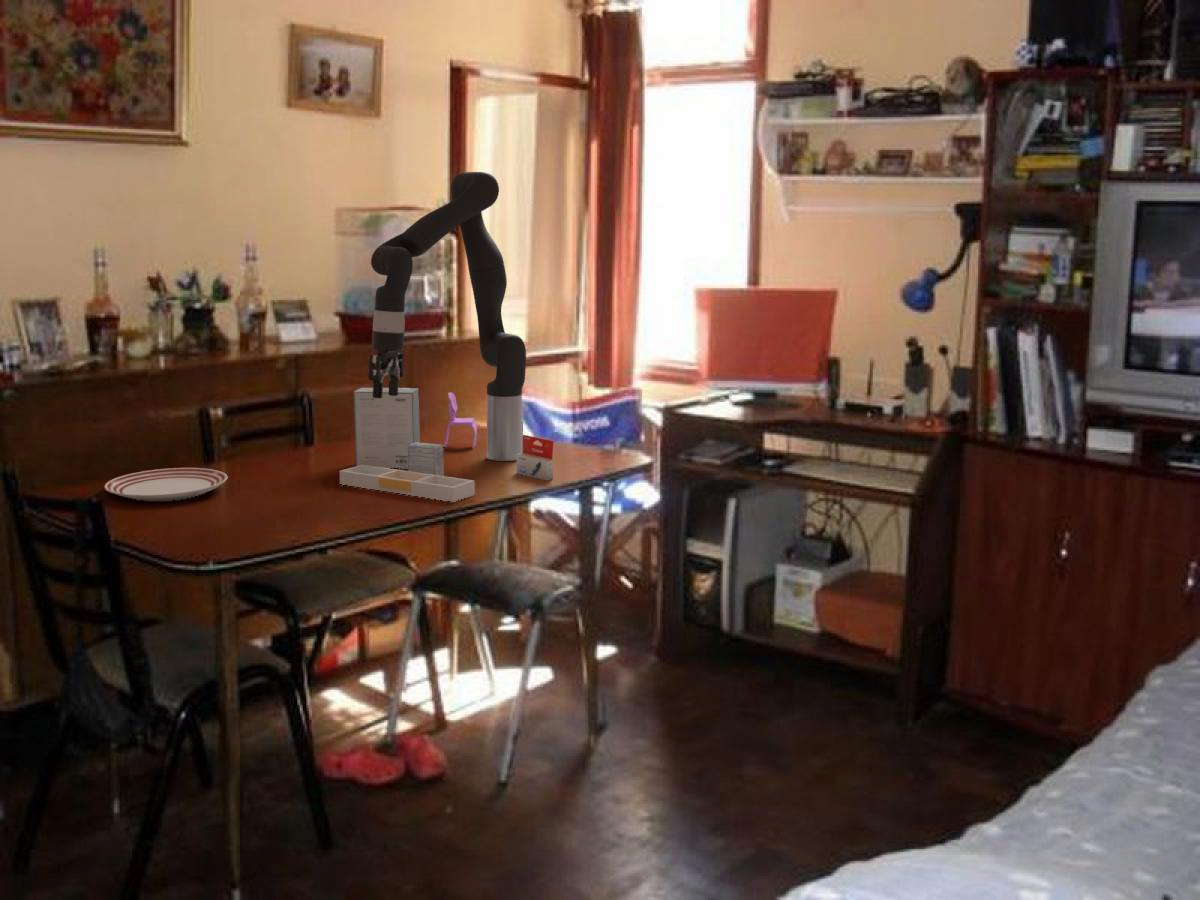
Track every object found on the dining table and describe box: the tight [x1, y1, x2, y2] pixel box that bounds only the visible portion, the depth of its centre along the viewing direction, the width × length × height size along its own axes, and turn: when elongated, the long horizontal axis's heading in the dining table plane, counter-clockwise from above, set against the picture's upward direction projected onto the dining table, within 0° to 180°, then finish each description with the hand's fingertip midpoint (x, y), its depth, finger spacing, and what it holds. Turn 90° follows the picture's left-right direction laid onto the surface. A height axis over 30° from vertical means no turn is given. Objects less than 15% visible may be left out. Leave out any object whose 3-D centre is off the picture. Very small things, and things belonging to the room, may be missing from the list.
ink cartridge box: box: [516, 434, 554, 481], centre depth 334 cm, size 2×11×10 cm, turn 47°
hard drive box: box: [352, 387, 421, 470], centre depth 342 cm, size 16×8×20 cm, turn 84°
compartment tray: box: [339, 465, 476, 503], centre depth 318 cm, size 9×33×4 cm, turn 61°
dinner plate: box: [104, 467, 229, 502], centre depth 313 cm, size 27×27×3 cm
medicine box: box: [407, 442, 445, 476], centre depth 329 cm, size 8×4×9 cm, turn 71°
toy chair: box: [443, 391, 478, 449], centre depth 369 cm, size 8×9×15 cm
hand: (385, 396), depth 324 cm, fingers open, 8 cm apart
